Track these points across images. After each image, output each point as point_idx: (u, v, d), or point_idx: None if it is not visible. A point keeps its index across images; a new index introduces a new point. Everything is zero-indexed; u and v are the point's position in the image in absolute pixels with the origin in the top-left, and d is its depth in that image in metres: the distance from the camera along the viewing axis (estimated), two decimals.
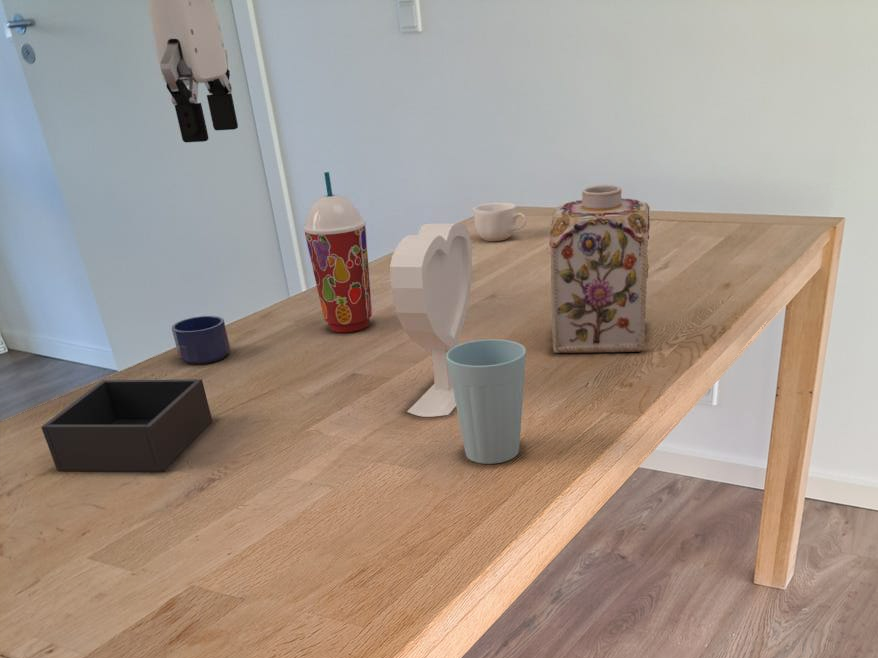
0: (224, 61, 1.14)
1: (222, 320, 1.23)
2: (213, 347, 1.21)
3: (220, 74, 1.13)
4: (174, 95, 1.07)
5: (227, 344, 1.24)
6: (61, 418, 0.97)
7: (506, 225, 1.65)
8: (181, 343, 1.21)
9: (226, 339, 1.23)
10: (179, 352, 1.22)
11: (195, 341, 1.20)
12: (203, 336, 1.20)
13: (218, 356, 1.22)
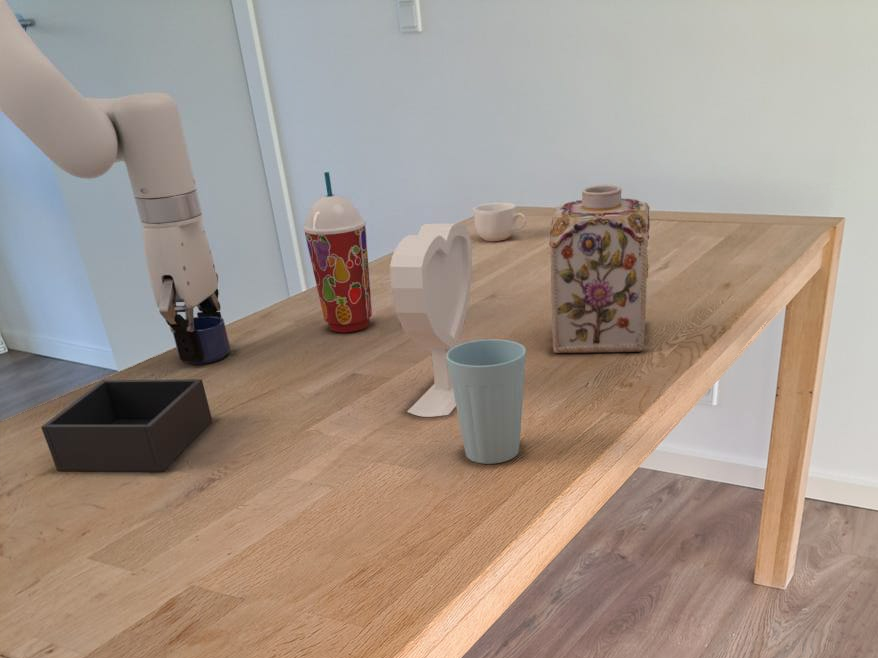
0: (215, 280, 1.22)
1: (222, 320, 1.23)
2: (213, 347, 1.21)
3: (211, 293, 1.21)
4: (173, 326, 1.17)
5: (227, 344, 1.24)
6: (61, 418, 0.97)
7: (506, 225, 1.65)
8: None
9: (226, 339, 1.23)
10: None
11: None
12: (203, 336, 1.20)
13: (218, 356, 1.22)
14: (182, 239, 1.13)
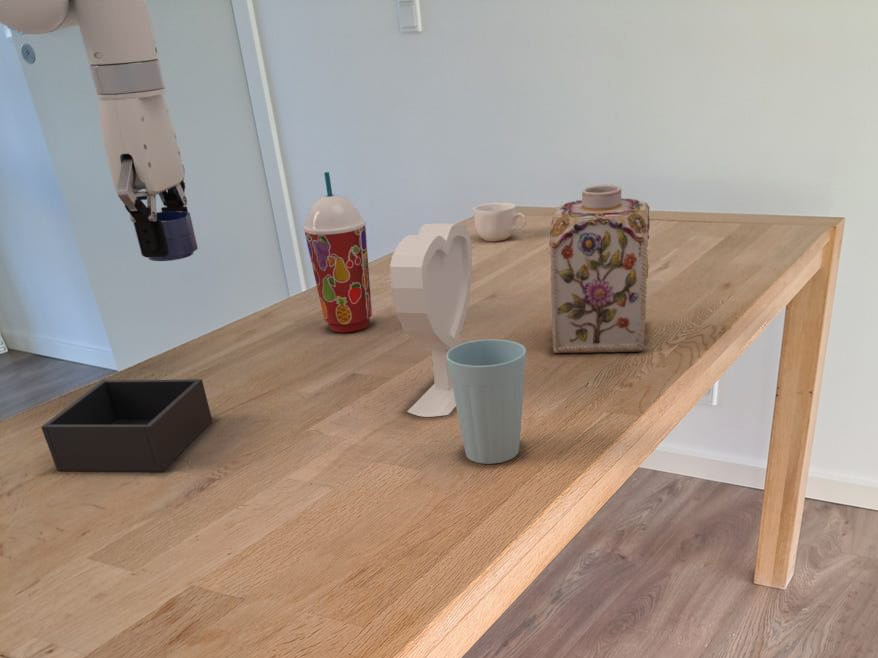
0: (180, 168, 1.12)
1: (189, 213, 1.12)
2: (178, 242, 1.11)
3: (176, 182, 1.11)
4: (133, 214, 1.06)
5: (194, 240, 1.13)
6: (61, 418, 0.97)
7: (506, 225, 1.65)
8: None
9: (193, 235, 1.13)
10: None
11: None
12: (167, 228, 1.10)
13: (184, 252, 1.12)
14: (143, 113, 1.02)
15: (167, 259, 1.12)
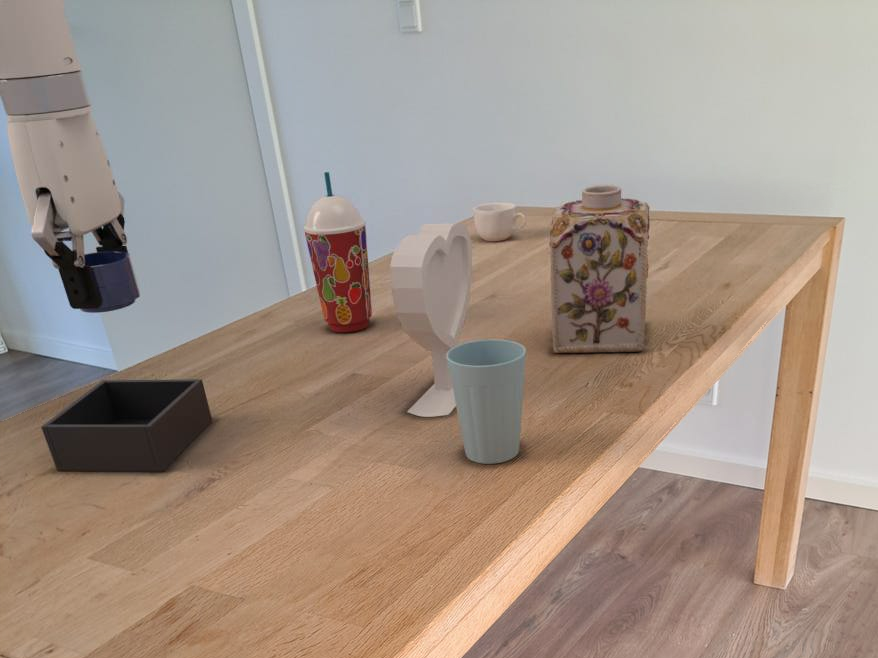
0: (116, 201, 0.93)
1: (127, 255, 0.93)
2: (114, 290, 0.92)
3: (110, 218, 0.92)
4: (54, 259, 0.87)
5: (135, 287, 0.94)
6: (61, 418, 0.97)
7: (506, 225, 1.65)
8: None
9: (133, 280, 0.94)
10: None
11: None
12: (99, 274, 0.91)
13: (122, 302, 0.93)
14: (62, 138, 0.83)
15: (101, 310, 0.93)
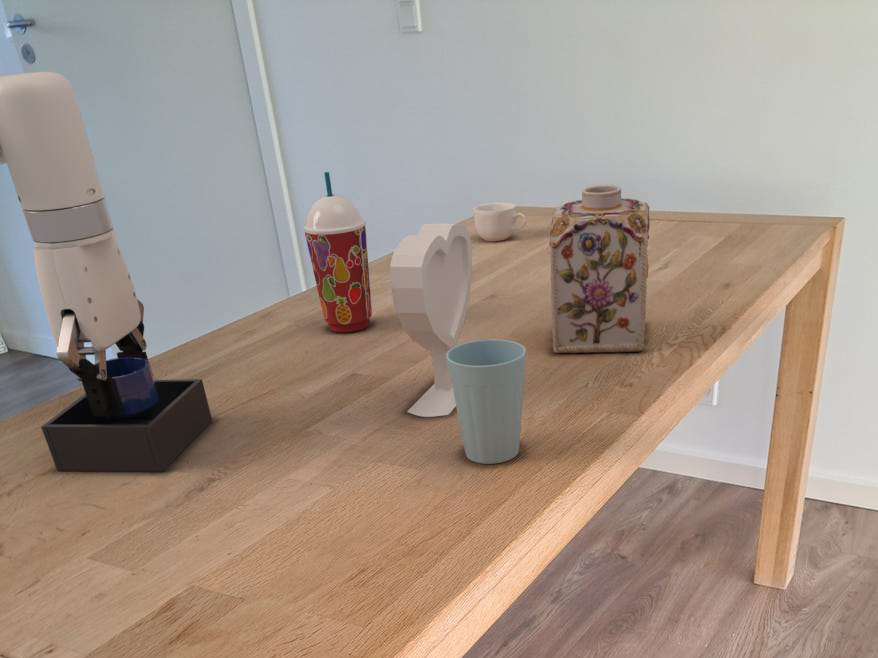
0: (136, 312, 0.96)
1: (147, 363, 0.97)
2: (135, 398, 0.96)
3: (131, 329, 0.96)
4: (78, 374, 0.91)
5: (154, 393, 0.98)
6: (61, 418, 0.97)
7: (506, 225, 1.65)
8: None
9: (152, 387, 0.97)
10: None
11: None
12: (121, 384, 0.94)
13: (142, 409, 0.97)
14: (86, 263, 0.87)
15: (122, 416, 0.97)
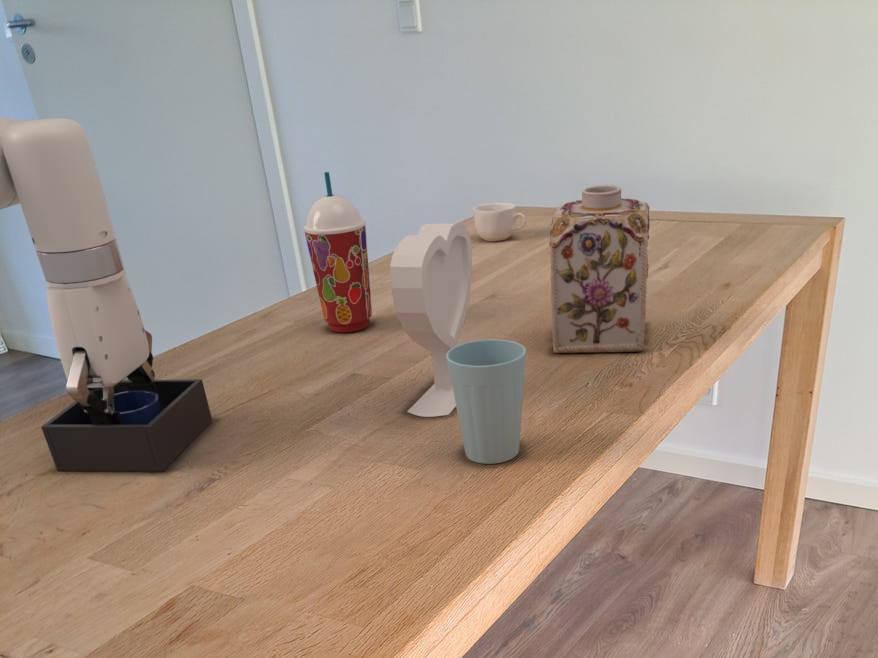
0: (145, 347, 0.98)
1: (156, 397, 0.99)
2: None
3: (140, 364, 0.98)
4: (86, 409, 0.93)
5: None
6: (61, 418, 0.97)
7: (506, 225, 1.65)
8: None
9: None
10: None
11: None
12: (131, 419, 0.96)
13: None
14: (97, 302, 0.89)
15: None
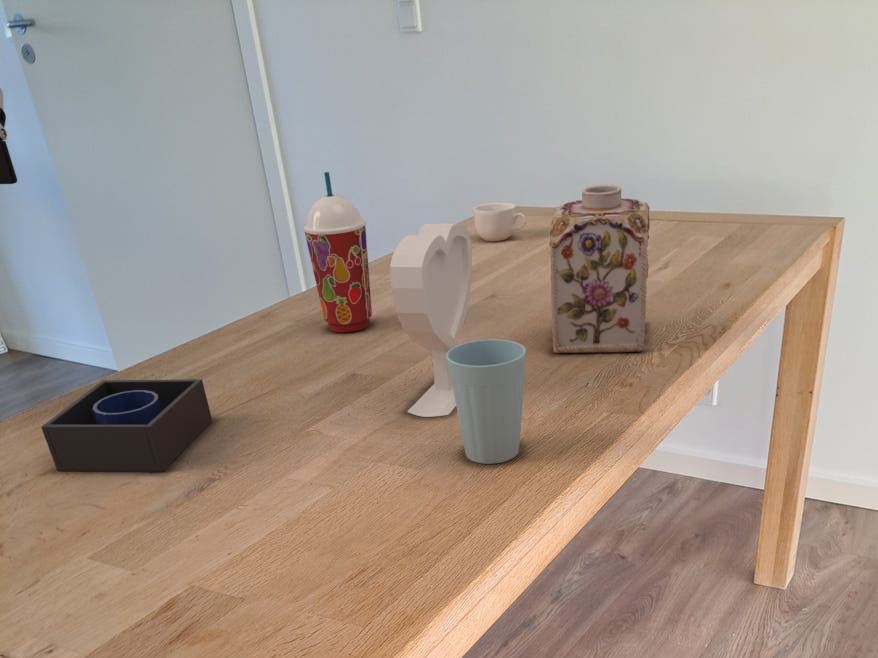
0: None
1: (156, 397, 0.99)
2: None
3: None
4: None
5: None
6: (61, 418, 0.97)
7: (506, 225, 1.65)
8: None
9: None
10: None
11: None
12: (131, 419, 0.96)
13: None
14: None
15: None
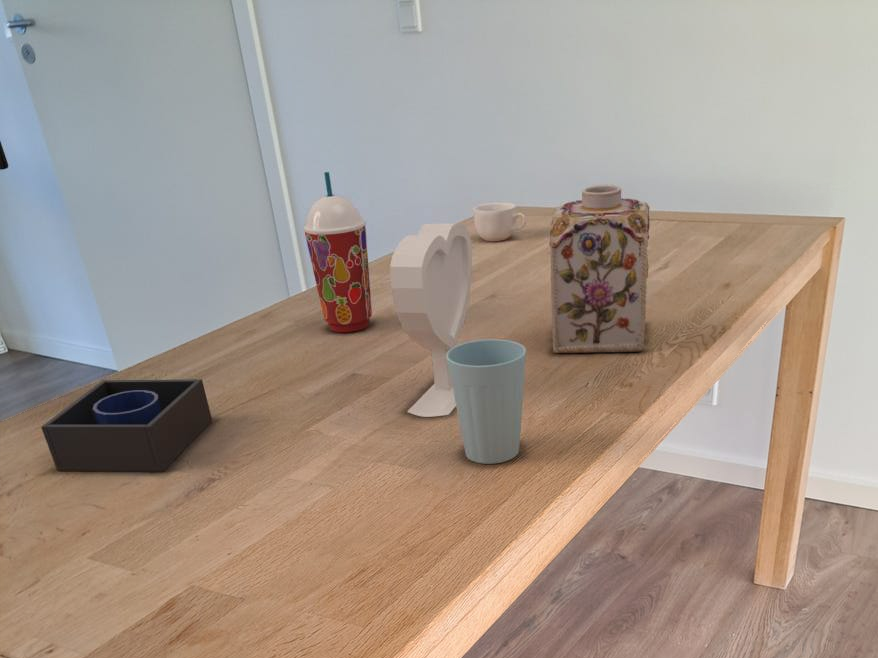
0: None
1: (156, 397, 0.99)
2: None
3: None
4: None
5: None
6: (61, 418, 0.97)
7: (506, 225, 1.65)
8: None
9: None
10: None
11: None
12: (131, 419, 0.96)
13: None
14: None
15: None
